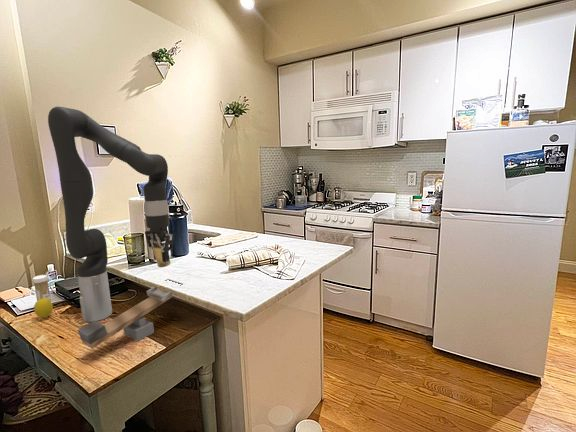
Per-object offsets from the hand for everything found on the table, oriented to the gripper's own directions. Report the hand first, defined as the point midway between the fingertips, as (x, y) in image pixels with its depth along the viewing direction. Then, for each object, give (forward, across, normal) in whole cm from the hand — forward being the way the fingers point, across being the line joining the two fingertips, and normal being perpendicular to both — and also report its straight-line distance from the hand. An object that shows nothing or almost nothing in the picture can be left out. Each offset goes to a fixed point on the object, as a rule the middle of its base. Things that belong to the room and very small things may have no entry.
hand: (161, 260), depth 110 cm
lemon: (+23, +41, +24) cm, 53 cm away
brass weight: (+2, 0, -1) cm, 2 cm away
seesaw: (+16, 0, +11) cm, 19 cm away
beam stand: (+23, 0, +11) cm, 25 cm away
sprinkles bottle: (+23, +50, +21) cm, 59 cm away
